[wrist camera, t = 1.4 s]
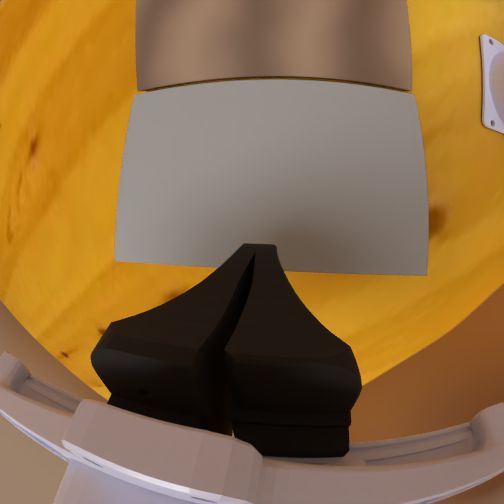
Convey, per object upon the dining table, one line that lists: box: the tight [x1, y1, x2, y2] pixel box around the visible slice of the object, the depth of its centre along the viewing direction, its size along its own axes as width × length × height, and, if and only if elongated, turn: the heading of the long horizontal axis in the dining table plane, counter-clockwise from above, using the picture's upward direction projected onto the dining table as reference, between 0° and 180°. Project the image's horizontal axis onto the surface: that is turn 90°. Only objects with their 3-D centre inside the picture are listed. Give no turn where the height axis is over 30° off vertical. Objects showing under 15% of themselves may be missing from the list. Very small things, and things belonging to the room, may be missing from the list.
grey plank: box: [115, 79, 429, 276], centre depth 15 cm, size 18×11×1 cm, turn 91°
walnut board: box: [136, 0, 412, 91], centre depth 12 cm, size 18×9×1 cm, turn 91°
